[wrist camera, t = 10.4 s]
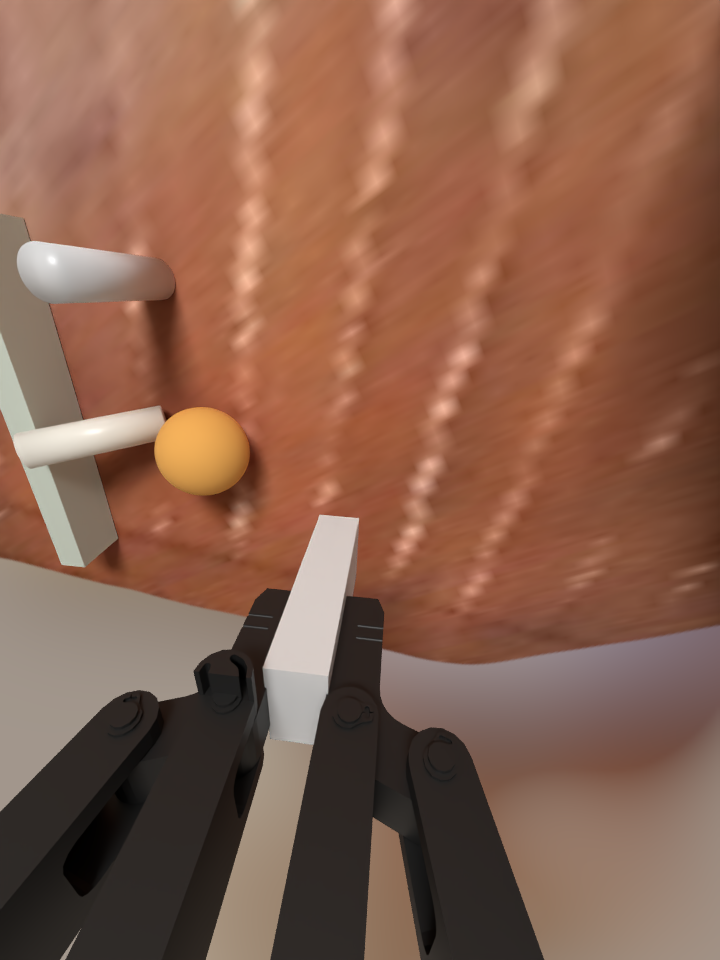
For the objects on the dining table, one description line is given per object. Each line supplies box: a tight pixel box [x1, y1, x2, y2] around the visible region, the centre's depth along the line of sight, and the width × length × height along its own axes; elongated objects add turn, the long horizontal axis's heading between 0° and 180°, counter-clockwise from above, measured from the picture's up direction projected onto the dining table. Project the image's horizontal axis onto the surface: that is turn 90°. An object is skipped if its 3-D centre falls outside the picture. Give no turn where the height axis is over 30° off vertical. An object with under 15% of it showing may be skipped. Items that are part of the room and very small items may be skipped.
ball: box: [154, 407, 250, 495], centre depth 26 cm, size 6×6×6 cm
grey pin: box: [17, 241, 175, 304], centre depth 20 cm, size 2×2×8 cm
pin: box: [14, 405, 167, 469], centre depth 26 cm, size 2×2×8 cm
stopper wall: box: [0, 214, 118, 567], centre depth 27 cm, size 24×2×4 cm, turn 177°
